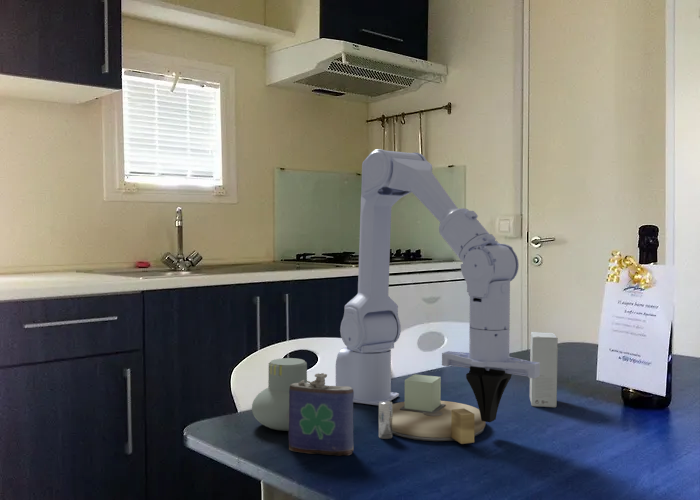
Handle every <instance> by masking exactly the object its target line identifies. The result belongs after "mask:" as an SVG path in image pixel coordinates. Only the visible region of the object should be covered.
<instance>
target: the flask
mask: <svg viewBox="0 0 700 500" xmlns="http://www.w3.org/2000/svg"><path fill="white" fill-rule="evenodd" d="M327 376H328V374H327V373H324V372H323V373H319V372H318V373H315V374H314V377H315V380H312V381H309V380H307V383H304V382H305V380H302V381H301V382H299V383H293V384H291V385H290V388H289V431H288V432H287V433H288V450H289V451H292V452H298V453H302V454H303V453H305V454H311V455H312V454H319V455H327V456H350V455H353V452H354V402H353V396H354V391H353V389H352V388H351V387H349V386H336V385H326V380H325V379H326V378H327Z"/></svg>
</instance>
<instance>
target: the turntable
mask: <svg viewBox="0 0 700 500" xmlns="http://www.w3.org/2000/svg"><path fill="white" fill-rule="evenodd" d="M486 423H487V422H485V421H482V420H481V415H480V411H479V408H477V407H475V406H472V405H469V404H466V403H461V402H455V401H447V400H441V405H440V406H438V407H437V408H436V409H435V410H433V411H432V412H430V411H422V410H414V409H406V408H405V401H400V402H395V403H393V407H392V430H393V431H396V432H399V433H402V434H407V435H412V436H420V437H433V438H446V437H451V438H453V439H455V440H456V441H455V442H458V443H459V444H461V445H464V444H472V443H473V444H474V443H475V437H474V433H476V432H479V431H481V430H482V429H483V428H484V429H485V427H486Z"/></svg>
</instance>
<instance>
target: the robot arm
mask: <svg viewBox="0 0 700 500" xmlns="http://www.w3.org/2000/svg"><path fill="white" fill-rule="evenodd" d="M360 189H361V190H360V191H361V193H360V194H361V195H360V214H359V216H360V217H359V243H358V244H359V245H358V246H359V247H358V248H359V250H358V274H357V275H358V276H357V278H358V281H357V294H356V295H355V296H353V297H352V298H351V299H350V300H349V301H348V302H347V303H346V304H345V305H344V311H343V312H344V313H343V317H342V320H341V322H340V328H339V331H340V338H341V340H342V342H343V344H344V345H345V346H346V347H343V348H341V349H340V350H339V351H338V352H337V356H336V360H335V386H349V387H351V388H352V389H353V391H354V396H353V403H356V404H365V405H372V406H379V402H381V401H390V402H392V400H394V399H396V398H397V397H399V396H400V393H398V392H393V391H392V383H391V381H392V373H391V372H392V367H391V365H392V349H395V344H396V343H397V341H399V339H400V337H401V331H402V327H401V322H400V317H399V313H398V312H399V306H398V304H397V303H396V302H395V301H394V300H393V298H391V297H390V296H389V286H390V285H389V283H390V257H391V253H390V252H391V230H392V209H393V206H394V205H395V204H396V203H397V202H398V201H399V200H400V199H402V198H404V197H406V196H407V195H409V194H411V193H412V194H413V195H414V196H415V197H416V198H417V200H419V202H420V203H422V205H423V206H424V207H425V208H426V209H427V210H428V211H429V212H430V213H431V214H432V215H433V217H434V218H436V220H438V222H439V226H438V233H439V235H440V236H441V237H442V239H444V242H446V243H447V245H448V246H449V247H450V248H451V249H452V251H453V253H454V254H455V255H456V256H457V257H458V259H459V260H460V262H461V264H460V271H461V274H462V276H463V279H464V280H465V282H466V292H467V293H468V296H469V330H468V331H469V332H468V333H469V341H468V342H469V343H468V345H469V346H468V347H469V351H468V352H464V351H450V350H448V351H444V352H442V353H441V365H442V366H443V367H459V368H466V369H469V372H466V375H465V378H466V380H467V382H468V384H469V386H470V387H471V388H470V389H472V392H473V394H474V396H475V400H476V403H477V407H478V409H479V411H480V415H481V420H482V421H485V422H486V423H492V422H494V421H495V420H496V418H497V413H498V409H499V405H500V402H501V399H502V397H503V394H504V392H505V390H506V388H507V386H508V384H509V382H510V380H511V378H512V375H516V376H523V377H527V378H528V379H530V378H537V377H539V376H540V363H539V362H532V361H530V360H526V359H521V358H517V357H512V356H510V332H511V331H510V330H511V329H510V326H511V325H510V324H511V323H510V321H511V320H510V319H511V318H510V315H511V313H510V312H511V311H510V310H511V308H510V305H511V281H513V280H514V279H515V278H516V276H517V274H518V272H519V267H520V266H519V259H518V256H517V254H516V252H515V250H514V249H513V247H512V246H511V245H510V244H506V243H500V242H498V241H497V240H496V236H494V235H493V234H492V233H490V232H488V230H487V229H486V227H484V226H483V224H482V223H481V222H480V221H479V220H478V217H479V215H478V214H477V213H476V212H475V210H469V209H468V208H464V207H463V208H462V207H461V208H458V206H457V205H456V204H455V202H454V201H453V200H452V198H451V196H449V194H448V193H447V191H446V190H445V188H444V187H443V186H442V184H441V183H440V182H439V180H438V179H437V177H436V176H435V175H434V173H433V165H432V163H431V162H429V161H428V160H427V158H426V157H425V155H423V154H422V153H420V152H406V151H405V152H404V151H393V150H386V149H381V148H376V149H374V150H372V151H371V152H370V153H369V154H368V156H367V157H366V158H365V159H364V160H363V161H362V164H361V188H360Z"/></svg>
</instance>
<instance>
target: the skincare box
mask: <svg viewBox="0 0 700 500" xmlns="http://www.w3.org/2000/svg"><path fill="white" fill-rule="evenodd" d="M558 340H559V339H558V336H557V335H556V334H555V332H540V331H531V332H530V344H529V345H530V347H529V348H530V349H529V353H530V354H529V356H530V357H529V359H530V360H529V361H532V362H539V363H540V376H539V377H537V378H529V400H530V405H531V406H532V407H545V408H556V407H557V403H558V401H557V399H558V398H557V397H558V391H557V390H558V387H557V386H558V350H559V349H558V348H559V347H558Z"/></svg>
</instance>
